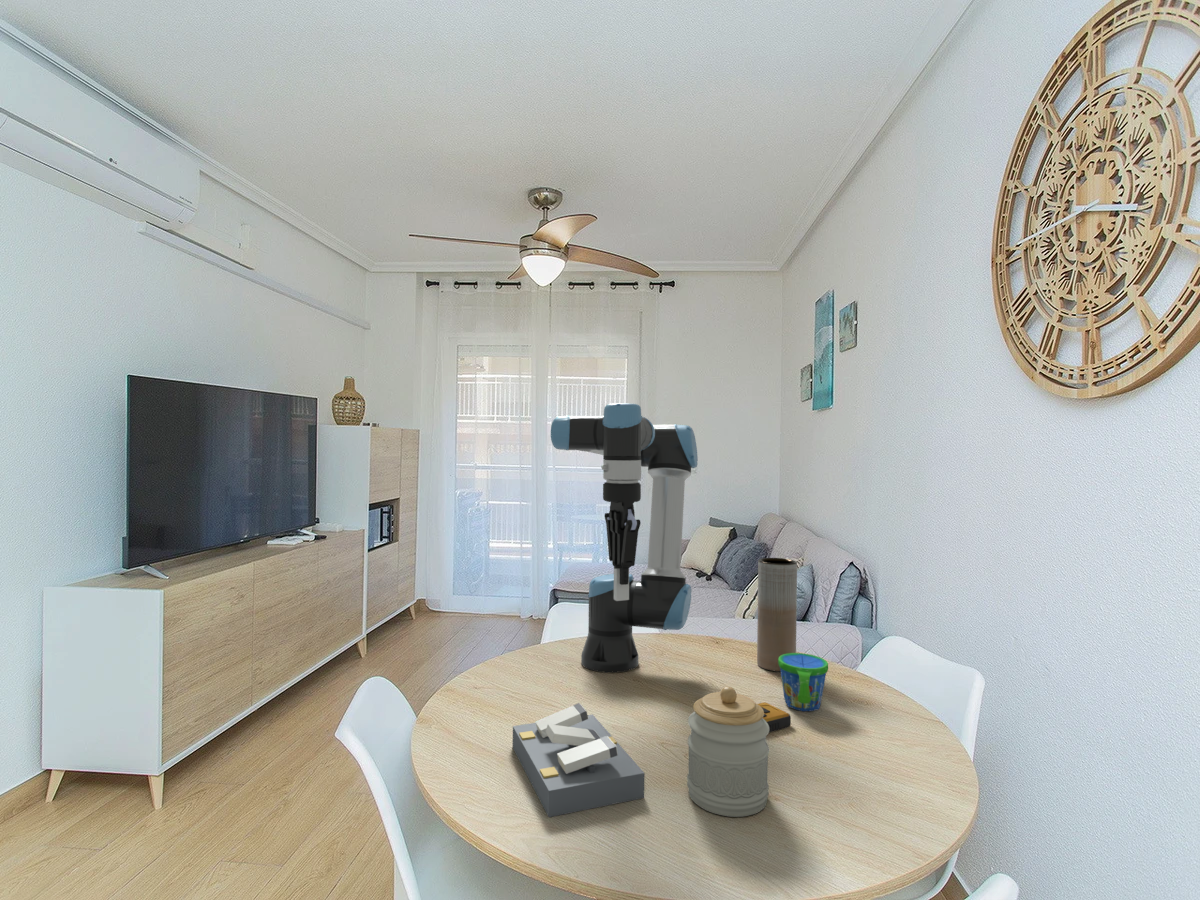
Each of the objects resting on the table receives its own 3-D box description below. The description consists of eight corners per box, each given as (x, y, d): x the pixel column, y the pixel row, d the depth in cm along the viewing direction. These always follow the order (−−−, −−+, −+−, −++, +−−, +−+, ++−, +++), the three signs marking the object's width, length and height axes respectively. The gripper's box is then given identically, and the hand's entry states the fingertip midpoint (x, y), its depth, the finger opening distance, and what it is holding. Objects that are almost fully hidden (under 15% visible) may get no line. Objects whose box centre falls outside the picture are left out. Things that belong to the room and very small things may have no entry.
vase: (755, 658, 171) (756, 557, 171) (792, 660, 169) (793, 558, 169) (759, 671, 161) (760, 563, 161) (799, 673, 159) (800, 564, 160)
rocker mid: (545, 732, 109) (547, 723, 109) (591, 738, 112) (594, 729, 112) (552, 742, 105) (554, 733, 106) (600, 748, 108) (602, 739, 109)
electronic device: (793, 730, 128) (794, 713, 128) (735, 745, 120) (735, 728, 120) (764, 714, 135) (764, 698, 135) (707, 728, 128) (707, 711, 128)
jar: (767, 781, 106) (768, 677, 106) (770, 824, 94) (771, 706, 94) (690, 771, 109) (691, 670, 109) (683, 812, 97) (684, 698, 97)
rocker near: (558, 762, 103) (557, 753, 103) (608, 744, 106) (607, 735, 106) (566, 774, 99) (564, 764, 99) (617, 755, 102) (616, 746, 102)
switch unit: (512, 747, 117) (512, 720, 117) (592, 734, 123) (592, 709, 123) (548, 817, 95) (548, 784, 95) (644, 797, 101) (644, 766, 101)
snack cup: (826, 724, 129) (827, 674, 130) (774, 715, 133) (774, 667, 133) (828, 697, 144) (829, 653, 144) (781, 690, 148) (781, 647, 148)
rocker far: (536, 729, 116) (534, 721, 116) (581, 710, 119) (579, 702, 119) (542, 738, 112) (540, 730, 112) (588, 718, 115) (586, 710, 115)
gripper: (592, 479, 129) (592, 593, 129) (617, 484, 117) (616, 609, 117) (626, 478, 131) (625, 590, 132) (653, 483, 119) (652, 606, 120)
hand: (621, 599), depth 125 cm, fingers closed
